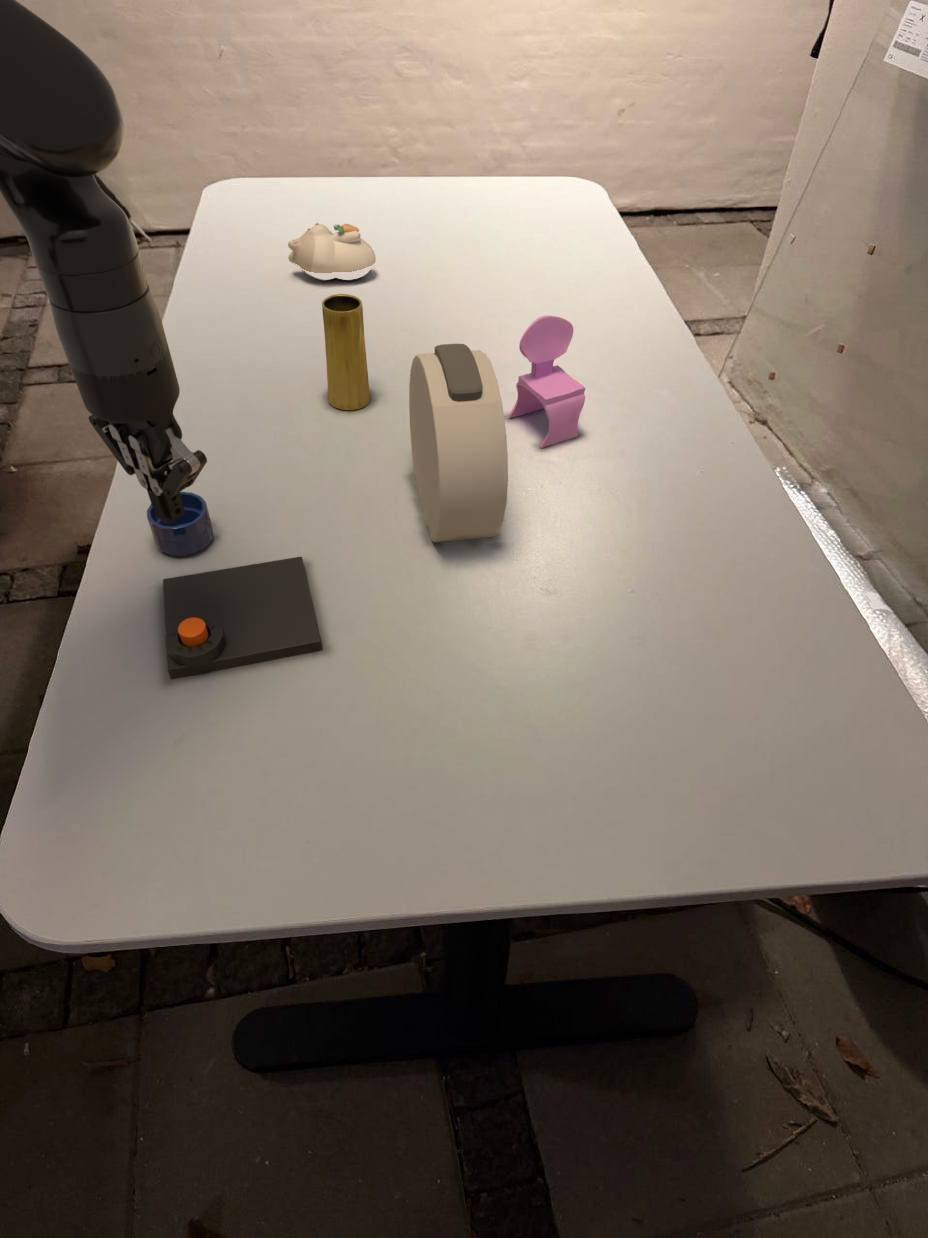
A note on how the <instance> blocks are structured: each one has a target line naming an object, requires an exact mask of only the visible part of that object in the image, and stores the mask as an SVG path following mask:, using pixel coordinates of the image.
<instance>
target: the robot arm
mask: <svg viewBox="0 0 928 1238" xmlns="http://www.w3.org/2000/svg"><path fill="white" fill-rule="evenodd" d="M124 136H125V125H124V116H123V112H122V108H121V105H120V102H119V99H118V97H117V94H116V92H115V91H114V88H113V87H112V84H111V83H110V81H109V80H108V77H106V76H105V74H104V72H103V71H102V70H101V69H100V67H99V66H98V65H97V64H96V63H95V62H94V61H93V60H92V59H91V58H90V57H89V56H88V54H86V53H85V52H84V51H83V50H82V49H81V48H80V47H79V46H77V44H76V43H74V42H73V41H71V39H69V38H68V37H66V36H65V34H63V33H62V32H60V31H59V30H57V29H56V28H54V26H52V25H51V24H49V23H48V22H46V21H45V20H43V18H42V17H40V16H38V15H37V14H36V13H34V12H33V11H32V10H30V9H29V8H27V7H26V6H24V5H23V4H22V3H20V2H18V1H17V0H0V195H1V196H2V198H3V200H4V201H5V203H6V205H7V206H8V207H9V210H10V211H11V212H12V215H13V216H14V217H15V219H16V221H17V222H18V223H19V225H20V227H21V229H22V231H23V233H24V235H25V237H26V239H27V242H28V245H29V247H30V252H31V255H32V258H33V260H34V261H33V262H34V264H35V266H36V269H37V271H38V275H39V277H40V279H41V282H42V285H43V288H44V290H45V293H46V296H47V298H48V301H49V305H50V308H51V313H52V317H53V322H54V326H55V330H56V333H57V336H58V338H59V341H60V344H61V346H62V349H63V351H64V354H65V357H66V359H67V363H68V365H69V368H70V370H71V373H72V376H73V378H74V381H75V383H76V386H77V389H78V393H79V395H80V397H81V400H82V403H83V405H84V408H85V409H86V410H87V412H89V414H91V415H89V416H88V421H89V423H90V425H91V426H92V427H93V429H94V430H95V431H96V433H97V434H98V436H99V437H100V439H101V440H102V441H103V442H104V444H105V445H106V447H107V449H108V450H109V451H110V452H111V454H112V455H113V456H114V458H115V459H116V461H118V463H119V464H120V466H121V467H122V469H123V470H124V472H125V473H126V474H127V475H129V476H134V474H135V476H136V478H137V482H138V483H139V484H140V486H141V487H142V488H144V489H145V490H146V492H147V495H148V498H149V501H150V505H151V504H152V507H153V510H154V513H155V515H156V517H157V518H158V519H160V520H162V521H163V522H165V523H167V524H171V523H173V522H174V521H176V520H177V519H179V518H180V517H182V516H183V514H184V511H185V510H184V506H183V503H182V500H181V497H180V493H179V492H183V491H184V490H185V489H187V488H189V487H191V486H192V485H194V483H195V482H196V480H197V478H198V477H199V475H200V473H201V472H202V470H203V468H204V467H205V466H206V464H207V462H208V459H207V456H206V454H205V453H204V452H203V451H202V450H201V449H197V450H195V451H194V452H193V451H191V450H190V449H189V447H188V446H187V445H186V444H185V443H184V442H183V441H182V440H183V439H182V438H183V431H182V428H181V426H180V425H179V423H178V421H177V419H176V417H175V415H174V409H175V407H176V404H177V402H178V399H179V396H180V391H181V390H180V386H179V385H180V384H179V380H178V376H177V374H176V370H175V366H174V362H173V358H172V355H171V350H170V347H169V343H168V340H167V336H166V333H165V328H164V324H163V322H162V317H161V314H160V311H159V308H158V306H157V303H156V301H155V298H154V296H153V293H152V291H151V288H150V286H149V283H148V278H147V275H146V271H145V268H144V263H143V260H142V256H141V252H140V249H139V244H138V241H137V238H136V236H135V235H136V234H135V231H134V229H133V227H132V224H131V221H130V219H129V218H128V216H127V214H126V212H125V211H124V210H123V208H121V207H120V205H118V203H116V202H115V201H114V200H113V199H112V198H111V197H110V196H108V194H106V193H105V191H104V190H103V189H102V188H101V186H100V184H99V183H98V182H97V180H96V178H95V175H97V174H99V173H101V172H103V171H105V170H106V169H108V168H109V167H110V166H111V165H112V164H113V162H114V161H115V160H116V159H117V157H118V155H119V154H120V152H121V149H122V146H123V141H124Z"/></svg>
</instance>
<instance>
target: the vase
mask: <svg viewBox="0 0 928 1238" xmlns="http://www.w3.org/2000/svg"><path fill="white" fill-rule="evenodd" d="M321 311H322V321H323V332H324V344H325V359H326V380H327V401H328V403H329V404H330V406H332V407H333V408H335V409H337V410H342V411H355V410H360V409H363V408H365V407H367V406H368V404H370V402H371V400H372V399H371V393H370V382H369V372H368V371H369V370H368V361H367V360H368V359H367V349H366V339H365V337H366V336H365V324H364V322H365V321H364V307H363V302H362V300H361V299H360V298H359V297H358V296H355V295H353V294H348V293H347V294H346V293H338V294H331V295H329V296H327V297H325V298H324V299H323V300H322V302H321Z"/></svg>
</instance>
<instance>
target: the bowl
mask: <svg viewBox="0 0 928 1238" xmlns="http://www.w3.org/2000/svg"><path fill="white" fill-rule="evenodd" d="M179 493H180V497H181V500H182V503H183V506H184V510H185V511H184V514H183V516H182V517H180V518H179V519H177V520H176V521H174V522H173V523H171V524H167V523H165V522H163V521H162V520H160V519H158V518H157V517H156V515H155V513H154V510H153V507H152V504H151V503H150V504H149V506H148V508H147V510H146V519H147V521H148V524H149V528H150V531H151V533H152V537H153V539H154V542H155V544H156V547H158V549H159V550H160V551H161V552H164V553H166V554H168V555H173V556H178V557H183V556H190V555H194V554H197V553H199V552H201V551H202V550H204V549H205V548H206V547H207V546H208V545H210V543H211V542H212V540H213V538H214V528H213V524H212V521H211V517H210V512H209V508H208V505H207V502H206V500H205V499H204V498H203V497H202V496H201V495H199V494H197V493H195V492H190V491H180V492H179Z"/></svg>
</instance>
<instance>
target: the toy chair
mask: <svg viewBox="0 0 928 1238" xmlns="http://www.w3.org/2000/svg"><path fill="white" fill-rule="evenodd" d="M573 335H574V326H573V324H572V322H570V321H569V320H567V319H565V318H563V317H560V316H556V315H542V316H540V317H538V318H536V319H535V320H534V321H532V322H531V324H530V325H529V326H528V327H527V328H526V329H525V331H524V333H523V334H522V335H521V338H520V341H519V348H518V349H519V351H520V353H521V355H522V356H523V357H524V358H526V359H527V360H528V362H529V363H531V365H530V366H531V368H530V369H531V370H530V371H531V372H529V373H525V374H522V375H519V376H518V380H517V382H516V384H515V385H516V391H517V397H516V398H517V399H516V402H515V404H514V406H513V408H512V409H511V412H510V413H509V414H508V416H507V418H508V419H510V420H511V419H514V418H517V417H520V416H523V415H526V414H527V415H528V414H530V413H533V412H536V411H540V410H543V409H544V411H545V414H546V416H547V420H548V423H549V429H548V432H547V434H546V435H545V437H544V439H543V440H542V442H541V444H540V445H539V449H544V448H547V447H550V446H552V445H556V444H559V443H561V442H565V441H568V440H571V439H573V438H576V437H578V436H579V433H578V432H579V431H578V430H579V429H578V428H579V427H578V426H579V419H580V416H581V413H582V411H583V408H584V404H585V402H586V395H585V391H586V387H585V386H584V385H583V384H582V383H580V382H579V381H578V380H576V379H574V378H573V377H572V376H571V375H569V374H568V373H567V372H566V371H565V370H564V369H563V368H562V367H560V365H558V364H557V365H554V362H555V360H556V359H558V358H560V357H561V356H562V355H564V354H566V353H567V351H568V349H569V346H570V344H571V343H572V342H571V341H572V339H573V337H574V336H573Z"/></svg>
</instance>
